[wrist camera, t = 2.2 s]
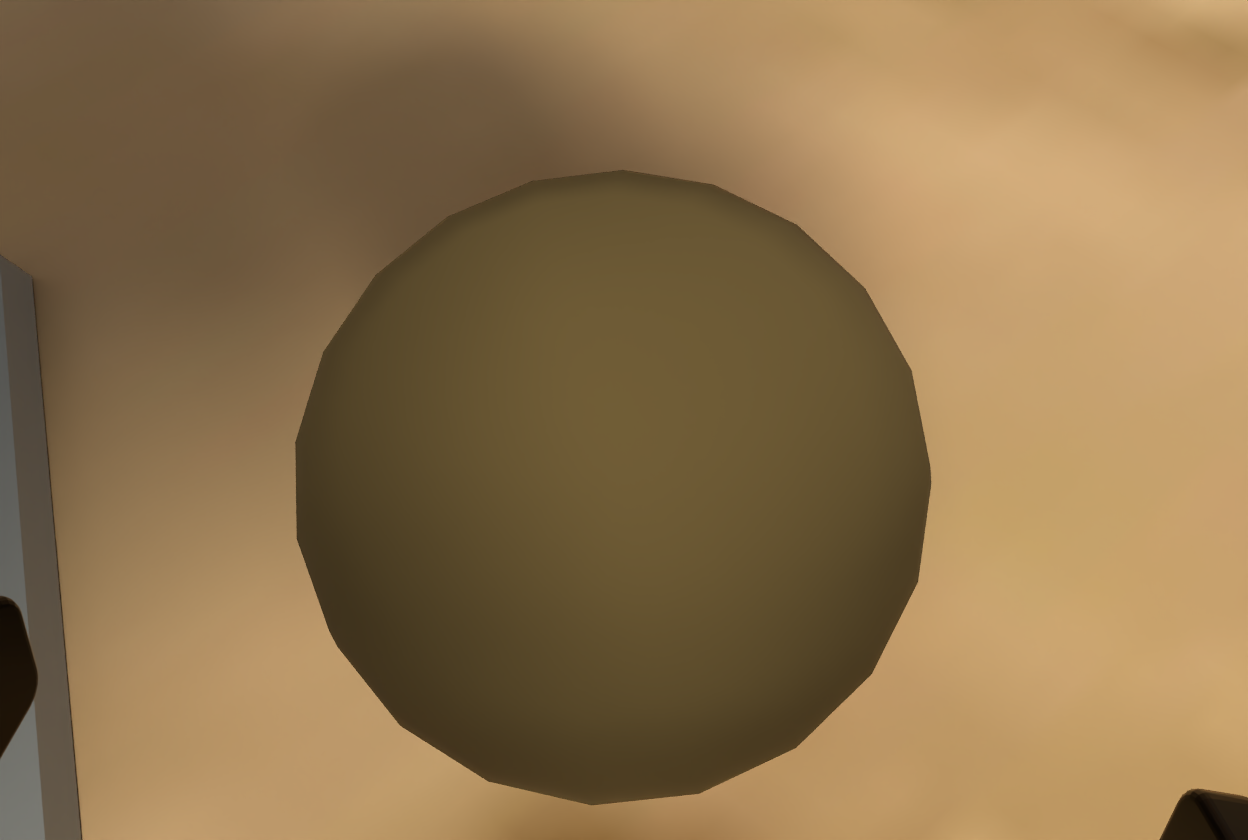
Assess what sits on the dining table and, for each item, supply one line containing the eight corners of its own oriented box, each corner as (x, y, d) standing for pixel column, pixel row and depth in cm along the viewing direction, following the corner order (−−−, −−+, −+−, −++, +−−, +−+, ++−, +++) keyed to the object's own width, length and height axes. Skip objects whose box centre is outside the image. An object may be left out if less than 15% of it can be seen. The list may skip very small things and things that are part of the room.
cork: (622, 366, 19) (545, -85, 8) (897, 573, 18) (1221, 346, 7) (400, 629, 18) (-13, 490, 7) (677, 871, 16) (669, 1133, 6)
